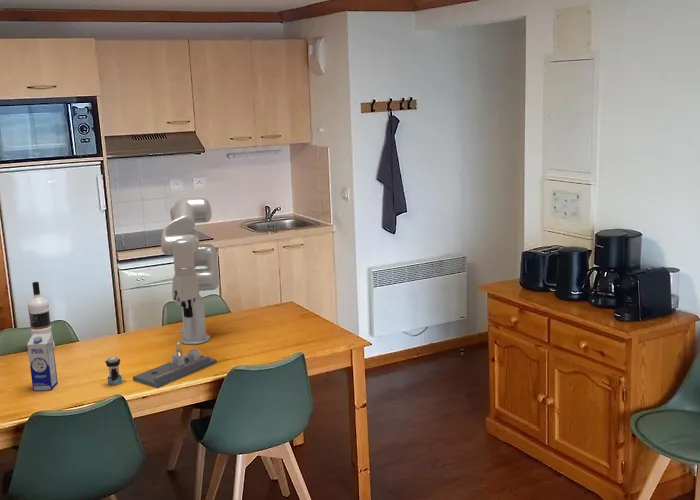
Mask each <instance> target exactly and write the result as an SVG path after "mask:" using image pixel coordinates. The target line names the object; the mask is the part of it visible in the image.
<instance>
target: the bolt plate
mask: <svg viewBox="0 0 700 500" xmlns="http://www.w3.org/2000/svg"><path fill="white" fill-rule="evenodd" d="M186 355H187V356H186V357H184V362H185V365H184V366H182V367H179V368H177V369H173V364H171V366H170V363H164V364H162V365H159V366H157V367H154V368H151V369H149V370H146V371H144V372H141V373H138V374H136V375H134V376H132V381H134V382H137V383H140V384H142V385H146V386H149V387H153V388H156V389H158V388H160V387H164V386H165V385H169V384H170V383H173V382H175V381H177V380H179V379H182V378H184V377H186V376H189V375H192V374H194V373H197V372H199V371H201V370H204V369H206V368H208V367H211V366H213V365H216V364H217V363H218V359H215V358H212V357H211V356H209V355H207V356H205V355H201V351H200V349H197V348H192V349H190V350H187V354H186ZM171 362H173V360H172V361H171Z"/></svg>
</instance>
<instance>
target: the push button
mask: <svg viewBox="0 0 700 500" xmlns="http://www.w3.org/2000/svg"><path fill="white" fill-rule="evenodd" d="M104 363H105V364H106V367H108V377H107V384H108V385H109V386H113V385H119V384H123V382H124V381H127V379H126V376H125V377H122V375H121V373H120V368H119V367H120V363H121V359H120V358H118V356H110V357H107V360H105V362H104Z"/></svg>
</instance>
